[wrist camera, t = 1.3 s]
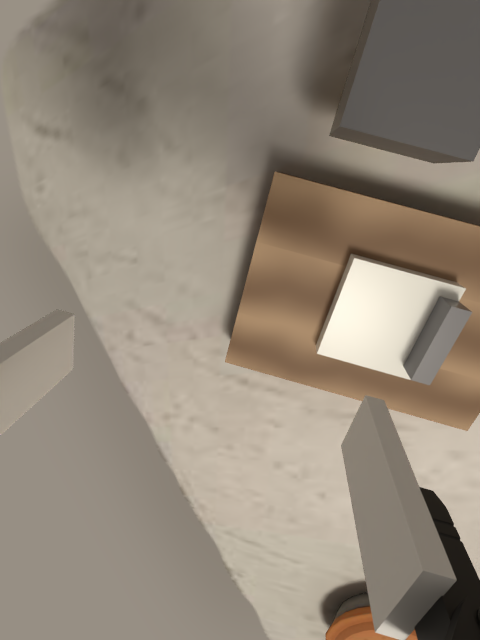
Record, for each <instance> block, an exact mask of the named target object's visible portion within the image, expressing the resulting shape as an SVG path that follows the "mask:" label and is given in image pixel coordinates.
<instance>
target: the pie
mask: <svg viewBox="0 0 480 640" xmlns="http://www.w3.org/2000/svg"><path fill="white" fill-rule="evenodd" d="M326 640H399V639H395V638H392V637H389V636H385V635H382V634H379V633H375V629H374V624H373V618H372V613H371V607H370V602H369V596H368V593H366V594H359V595H357V596H354V597H351V598H349V599H348V600H346V601H345V602H343V603H342V605H341V606H340V608H339V609H338V612H337V614H336V616H335V618H334V620H333V623H332V625H331V626H330V628H329V629H328V631H327V632H326ZM406 640H418V639H417V635H416V632H415V629H414V630H413V632H412V633H411V634H410V635H409V636H408V637H407V639H406Z"/></svg>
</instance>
